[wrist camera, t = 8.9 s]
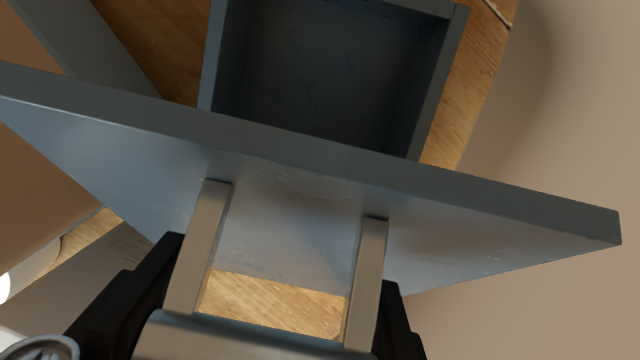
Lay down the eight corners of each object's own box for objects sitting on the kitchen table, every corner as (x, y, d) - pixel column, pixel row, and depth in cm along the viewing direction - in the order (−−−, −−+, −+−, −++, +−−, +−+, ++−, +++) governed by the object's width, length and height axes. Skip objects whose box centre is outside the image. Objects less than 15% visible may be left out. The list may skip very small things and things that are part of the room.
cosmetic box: (171, 305, 38) (56, 467, 23) (108, 277, 37) (-50, 424, 23) (199, 237, 35) (90, 371, 21) (131, 206, 35) (-30, 320, 20)
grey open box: (251, -31, 28) (219, -63, 20) (430, 17, 29) (472, 6, 21) (213, 199, 34) (176, 249, 26) (362, 234, 35) (373, 293, 27)
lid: (-23, 52, 8) (-231, 357, 6) (619, 210, 8) (655, 528, 6) (175, 247, 26) (145, 336, 24) (375, 291, 27) (362, 381, 24)
